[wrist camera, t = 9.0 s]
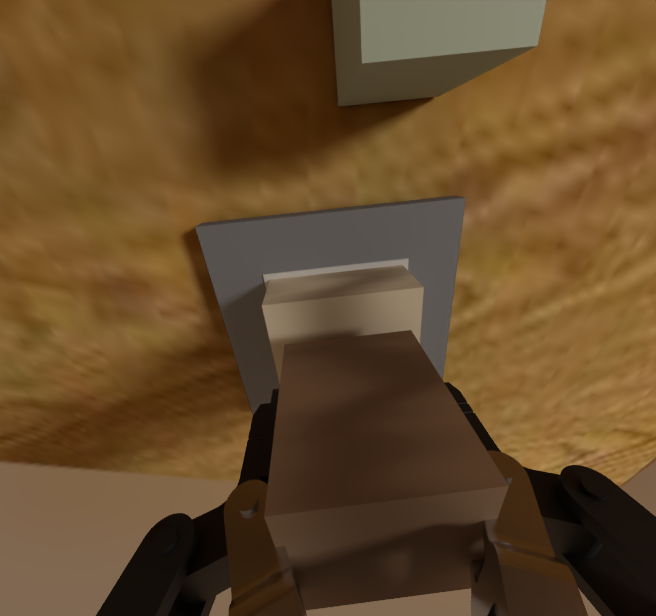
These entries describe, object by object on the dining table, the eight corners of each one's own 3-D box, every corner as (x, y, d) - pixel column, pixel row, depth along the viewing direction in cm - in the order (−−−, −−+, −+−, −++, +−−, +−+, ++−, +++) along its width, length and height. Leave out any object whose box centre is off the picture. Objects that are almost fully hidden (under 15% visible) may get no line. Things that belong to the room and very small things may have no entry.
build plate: (455, 195, 14) (466, 197, 13) (434, 386, 20) (441, 397, 19) (201, 222, 14) (194, 227, 13) (256, 407, 20) (253, 420, 19)
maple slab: (402, 264, 15) (423, 287, 12) (399, 368, 18) (415, 404, 15) (269, 279, 15) (261, 305, 12) (290, 381, 18) (287, 419, 15)
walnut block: (411, 330, 11) (508, 485, 6) (406, 418, 13) (471, 587, 8) (284, 344, 11) (264, 516, 6) (301, 431, 13) (298, 611, 8)
